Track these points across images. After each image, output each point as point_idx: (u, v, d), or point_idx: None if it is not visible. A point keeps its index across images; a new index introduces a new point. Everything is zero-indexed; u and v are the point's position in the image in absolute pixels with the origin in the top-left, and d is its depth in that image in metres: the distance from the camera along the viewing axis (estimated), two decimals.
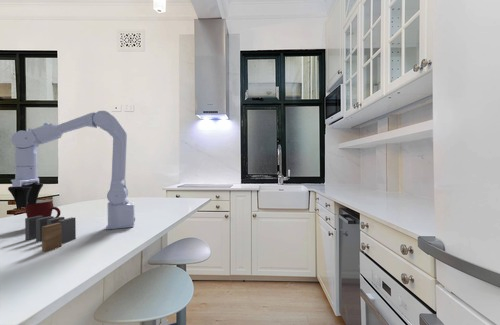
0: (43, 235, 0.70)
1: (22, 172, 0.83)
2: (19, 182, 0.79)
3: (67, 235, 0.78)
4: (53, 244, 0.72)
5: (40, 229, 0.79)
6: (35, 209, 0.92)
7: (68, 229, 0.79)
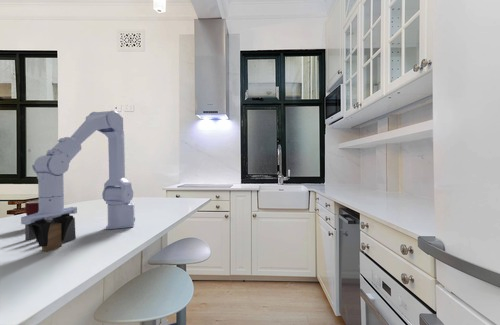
0: None
1: (41, 204, 0.69)
2: (26, 219, 0.65)
3: (67, 235, 0.78)
4: (53, 244, 0.72)
5: None
6: (35, 209, 0.92)
7: (68, 229, 0.79)
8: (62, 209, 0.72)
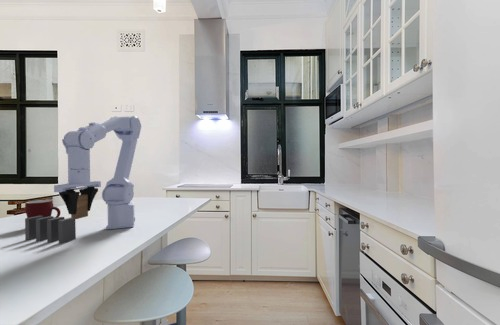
0: None
1: (70, 175, 0.75)
2: (59, 187, 0.71)
3: (67, 235, 0.78)
4: (81, 213, 0.77)
5: (40, 229, 0.79)
6: (35, 209, 0.92)
7: (68, 229, 0.79)
8: (89, 181, 0.78)
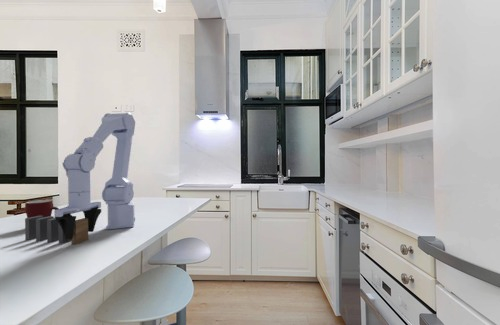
0: None
1: (71, 199, 0.75)
2: (59, 212, 0.71)
3: None
4: (81, 237, 0.78)
5: (40, 229, 0.79)
6: (35, 209, 0.92)
7: None
8: (89, 203, 0.78)
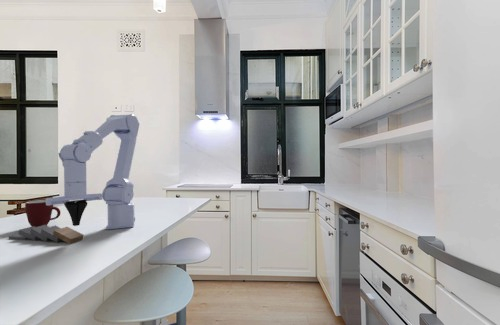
0: (59, 236, 0.77)
1: (64, 189, 0.76)
2: (47, 201, 0.72)
3: None
4: (73, 235, 0.78)
5: (27, 232, 0.80)
6: (35, 209, 0.92)
7: None
8: (82, 194, 0.77)
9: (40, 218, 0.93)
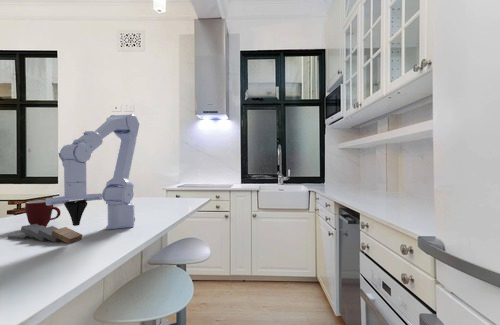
0: (57, 236, 0.77)
1: (64, 189, 0.76)
2: (47, 201, 0.72)
3: None
4: (72, 235, 0.78)
5: (27, 229, 0.82)
6: (35, 209, 0.92)
7: None
8: (82, 194, 0.77)
9: (40, 218, 0.93)
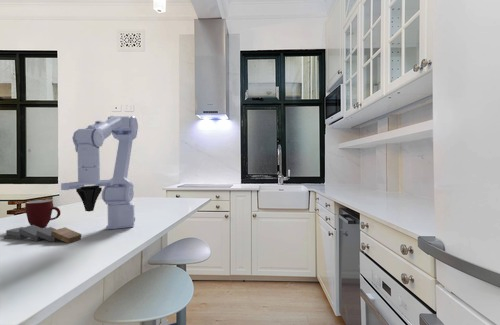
0: (57, 236, 0.78)
1: (79, 173, 0.75)
2: (64, 185, 0.70)
3: None
4: (71, 235, 0.79)
5: (13, 231, 0.82)
6: (35, 209, 0.92)
7: None
8: (97, 179, 0.77)
9: (40, 218, 0.93)
